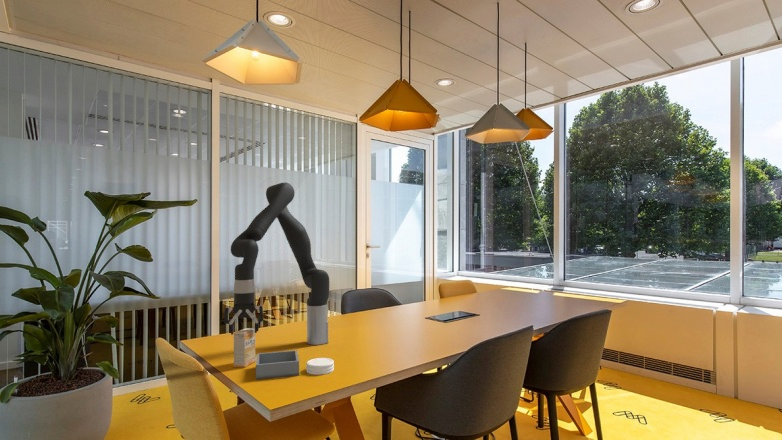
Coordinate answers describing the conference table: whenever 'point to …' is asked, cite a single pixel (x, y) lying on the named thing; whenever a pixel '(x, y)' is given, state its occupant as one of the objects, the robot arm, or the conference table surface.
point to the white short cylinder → (320, 366)
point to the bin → (277, 364)
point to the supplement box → (244, 347)
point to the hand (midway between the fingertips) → (244, 333)
